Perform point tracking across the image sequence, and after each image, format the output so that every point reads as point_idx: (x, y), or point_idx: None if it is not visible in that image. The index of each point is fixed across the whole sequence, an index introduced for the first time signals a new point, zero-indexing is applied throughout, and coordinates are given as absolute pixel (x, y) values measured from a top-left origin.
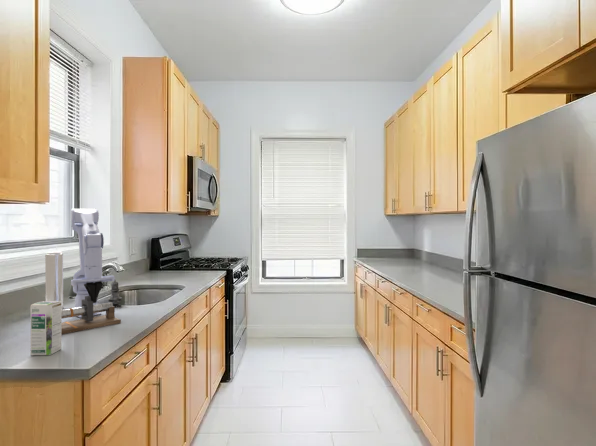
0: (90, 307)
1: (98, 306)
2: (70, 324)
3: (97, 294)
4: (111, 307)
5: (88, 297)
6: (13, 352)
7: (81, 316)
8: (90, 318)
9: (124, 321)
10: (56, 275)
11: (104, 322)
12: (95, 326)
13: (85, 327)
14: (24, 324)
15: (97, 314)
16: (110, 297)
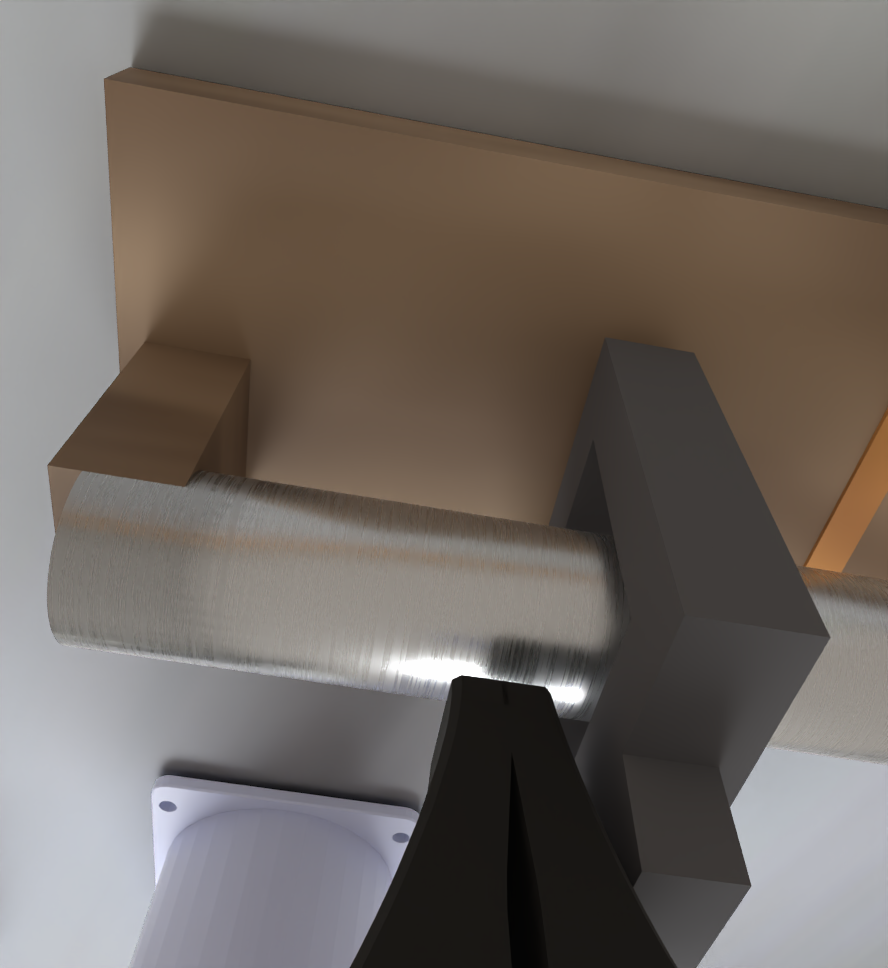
0: (721, 515)
1: (417, 583)
2: (845, 534)
3: (444, 867)
4: (127, 469)
5: (704, 864)
6: None
7: (402, 820)
8: (666, 372)
9: (29, 118)
10: None
11: (454, 163)
12: (639, 169)
13: (827, 208)
14: (872, 965)
15: (206, 783)
16: None
